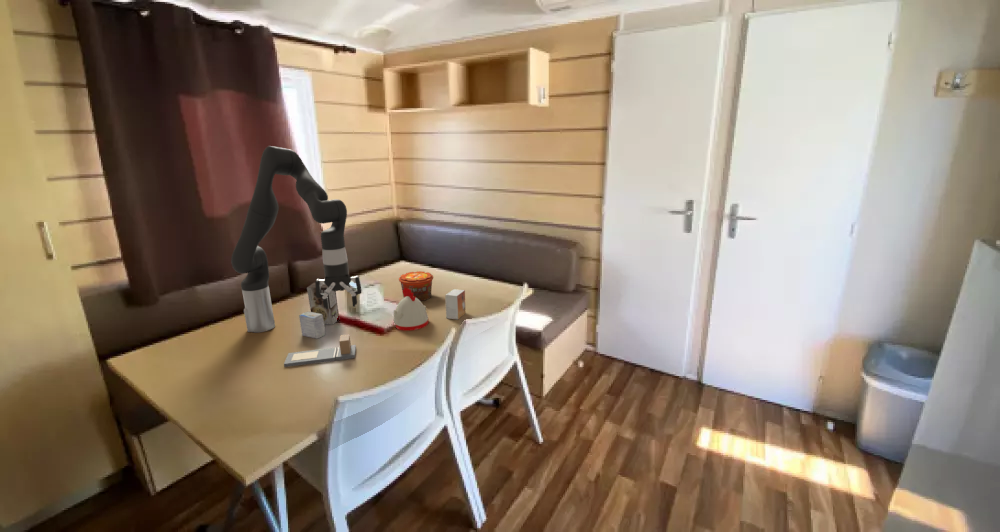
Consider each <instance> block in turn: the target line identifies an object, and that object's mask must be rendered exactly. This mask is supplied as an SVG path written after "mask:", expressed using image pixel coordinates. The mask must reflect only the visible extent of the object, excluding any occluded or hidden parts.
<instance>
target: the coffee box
mask: <svg viewBox="0 0 1000 532" xmlns="http://www.w3.org/2000/svg"><path fill="white" fill-rule="evenodd" d="M327 288H328V286H327V285H326V284H325V283H323V284H322V286H321V293H323V294H324V293H325V291H326V290H327ZM306 290H307V296H308V297H307V298H308V303H309V310H310V312H314V313H319V314H322V315H323V321H324V325H334V324H335V323H336V322H338V321H337V318H338V316H339V317H340V314H339V313H340V312H339V305H338V299H337V291H332V290H331V292H330V293H329V294H328V296H327V297H328V303H329V309H326V308H324V305H323V299H322V298H317V297H316V285H315V282H313V283H310V285H308V286H307V287H306Z"/></svg>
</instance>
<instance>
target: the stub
mask: <svg viewBox="0 0 1000 532" xmlns="http://www.w3.org/2000/svg"><path fill="white" fill-rule="evenodd" d="M339 335H340V334H339ZM338 343H339V346H337V354H336V360H335V361H342V360H350V359H355V358H356V352H357V346H356V344H351V335H350V334H341V335H340V336H339V341H338Z"/></svg>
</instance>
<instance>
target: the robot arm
mask: <svg viewBox="0 0 1000 532" xmlns="http://www.w3.org/2000/svg"><path fill="white" fill-rule="evenodd" d="M275 175H281V176H290V177H292V178H293V179H295V189H296V192H297V194H298V196H299V197H300V198H301V199H302V200H303V201H304V202H305V203H306V205H307V207H308V208H309V211H310V214H311V217H312V219H313V221H315V222H316V223H319V224H321V225H322V224H329V223H331V224H330V227H329V228H327V229H324V230H323V231H321V233H320V240H321V247H322V251H321V252H322V263H323V270H324V272H323V273H324V279H321V278H316V280H315V281H314V283H315V285H316V297H317V298H322V299H323V305H324V308H326V309H329V303H328V297H327V296H328V294H329V293H330V292H331V290H332V291H336V292H338V291H340V292H342V291H343V292H344V291H345V290H346V292H347V293H349V294H350V295H351V301H352V307H353V308H354V307H356V305H357V304H358V298H357V295H361V294H362V291H363V290H362V285H361V279H360V276H359V275H355V276H350V270H349V263H348V262H349V261H348V255H347V253H348V252H347V250H346V243H345V229H346V228H345V227H346V223H347V217H348V216H347V215H348V210H347V206H346V205H345V203H344V202H343V200H341V199H329V195H328V193H327V192H326V190H324V188H323V187H322V186H321V185H320V184H319V183H318V182H317V181H316V180H315V179H314V178H313V176H312V175H311V173H310V171H309V170H308V168H307V167H306V165H305V163H304V161H303V160H302V158H301V157H300V156H299V154H298V152H296V151H294V150H293V149H289V148H285V147H279V146H273V145H272V146H271V145H268V146H266V147H265V149H264V150H263V152H262V155H261V159H260V163H259V168H258V173H257V179H256V183H255V187H254V191H253V194H252V197H251V199H250V202H249V203H250V204H249V206H248V209H247V213H246V216H245V217H246V218H245V220H244V223H243V227H242V229H241V234H240V236H239V238H238V240H237V242H236V245H235V248H234V250H233V252H232V254H231V258H230V260H231V261H230V262H231V267H232V269H233V270H234V271H235V272H236V273H238V274H242V275H243V274H247V275H246V276H245V278H244V279H243V280H242V281H241V283H240V287H241V293H242V296H243V297H242V298H243V303H244V308H243V313H244V318H245V319H244V320H245V324H246V330H247V332H248V333H263V332H264V333H265V332H268V331H270V330H272V329H274V328H275V327H276V323H275V318H274V317H275V316H274V311H273V305H272V298H271V293H270V292H271V291H270V287H269V280H270V272H269V271H270V270H269V261H268V257H267V256H268V255H267V253H266V251H265V250H264V248H263V247H261V246H259V244H260V243H261V241H262V240H263V239H264V238H265V237H266V235H267V234H268V233H269V232H270V230H272V228H273V226H274V225H275V223H276V219H277V217H278V213H279V208H280V207H279V203H278V199H277V198H276V195H275V193H274V190H273V181H274V177H275ZM351 281H352V282H353V283H354V284H356V289H355V288H353V286H352V285H350V283H351ZM323 283H325V284H326V285H327V286H328V288H327V290H326V291H325V293H324V294H323V293H321V286H322V284H323Z"/></svg>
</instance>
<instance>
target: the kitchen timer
mask: <svg viewBox="0 0 1000 532" xmlns="http://www.w3.org/2000/svg"><path fill="white" fill-rule="evenodd" d="M401 290H402V289H401ZM403 295H404V297H403V298H401V300H400V301H399V302H398V304H397V305H396V308H395V309H394V310H393V321H394V322H393V324H394V323H395V324H396V328H397V329H396V328H395V329H396V330H400V331H416V330H420V329H424V328H425V327H427V326H428V324H429V315H428V313H427V306H426V305H424V304H423V303H422V301H420V300H419V299H417V298H416V296H415V297H414V296H413V293H411V289H409V288H408V289H406V288H404V290H402V296H403Z"/></svg>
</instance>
